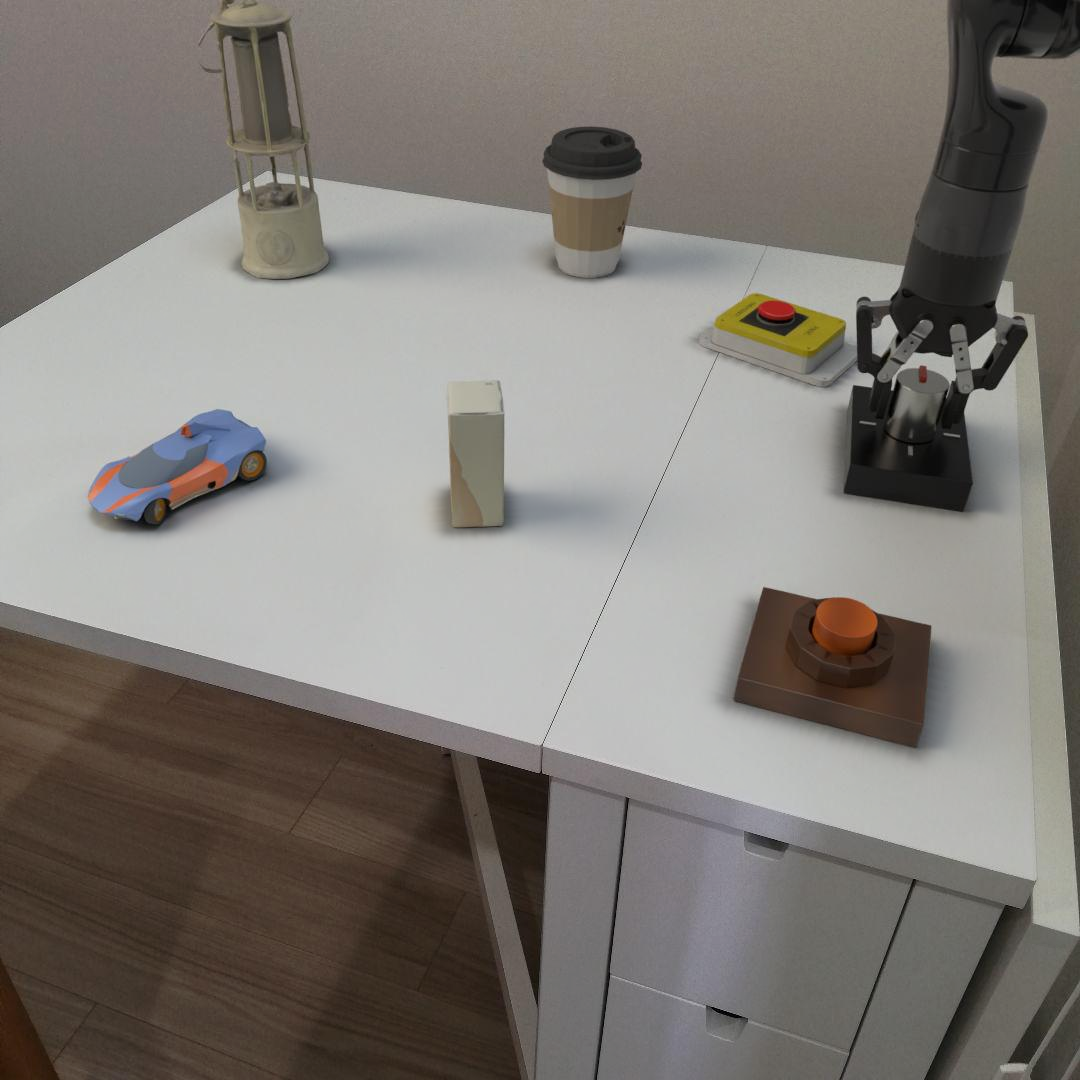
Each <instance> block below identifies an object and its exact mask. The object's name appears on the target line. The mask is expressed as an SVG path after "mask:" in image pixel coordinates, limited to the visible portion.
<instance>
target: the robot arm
mask: <svg viewBox="0 0 1080 1080" xmlns="http://www.w3.org/2000/svg"><path fill="white" fill-rule="evenodd" d="M946 29H947V31H946V32H947V50H948V51H947V52H948V74H947V96H946V108H945V116H944V120H943V125H942V129H941V134H940V137H939V141H938V145H937V148H936V153H935V157H934V161H933V165H932V169H931V171H930V176H929V178H928V181H927V183H926V185H925V189H924V191H923V193H922V197H921V198H920V199H921V200H920V203H919V208H918V210H917V211H916V214H915V217H914V228H913V232H912V236H911V240H910V243H909V247H908V252H907V255H906V259H905V264H904V267H903V272H902V275H901V280H900V284H899V287H898V288H897V290H896V291H895V292H894V294H892V296H891V297H890V299H884V300H871V298H870V297H868V296H860V297H859V298H858V299H857V300H856V308H855V325H856V346H857V361H856V364H857V366H856V368H857V370H858V372H859V373H861V374H869V375H871V376H872V377H873V382H872V386H871V387H872V390H871V394H870V398H869V407H870V411H871V412H875V418H876V419H883V418H884V415H885V411H886V407H887V403H888V399H889V395H890V391H891V390H892V389H893V388H892V387H893V378H894V377H895V375H896V374H897V372H898V371H899V370H900V369H901V367H902V366H903V365H905V364H906V363H907V362H908V361H909V360H910V358H911V357H912V356H913V354H914V353H915V354H921V355H923V354H935V355H938V356H940V357H945V358H952V357H953V363H954V370H955V375H956V376H955V379H954V380H951V382H950V387H949V390H948V393H947V397H946V398H947V399H946V402H945V405H944V409H943V412H942V416H941V424H942V428H945V429H951V427H952V424H953V423H954V424H958V423H959V422H960V421H961V420H962V417H963V413H964V414H965V409H966V407H967V404H968V400H969V398H970V396H971V393H973V392H974V391H977V390H982V389H984V390H985V391H993V390H994V391H995V390H996V389H997V388H998V386H999V384H1000V383H1001V381H1002V380H1003V378H1004V377H1005V375H1006V373H1007V371H1008V370H1009V368H1010V367H1011V365H1012V363H1014V361H1015V359H1016V357H1017V355H1018V354H1019V352H1020V350H1021V349H1022V347H1023V345H1024V344H1025V342H1026V341H1027V339H1028V338H1029V331H1028V326H1027V322H1026V320H1025V317H1023V316H1022V315H1015V316H1012V317H1010V316H1006V315H1004V314H1000V313H998V312H997V311H998V310H997V307H996V306H997V300H998V296H999V294H1000V290H1001V288H1002V284H1003V281H1004V277H1005V274H1006V270H1007V267H1008V265H1009V261H1010V258H1011V255H1012V252H1013V248H1014V245H1015V242H1016V238H1017V235H1018V233H1019V229H1020V226H1021V223H1022V220H1023V215H1024V213H1025V206H1026V199H1027V193H1028V188H1029V184H1030V182H1031V178H1032V175H1033V171H1034V168H1035V166H1036V162H1037V159H1038V155H1039V152H1040V148H1041V146H1042V143H1043V140H1044V136H1045V133H1046V129H1047V125H1048V120H1049V109H1048V107H1047V104H1046V103H1045V102H1044V101H1043V100H1042V99H1041V98H1039V97H1038V96H1036V95H1034V94H1032V93H1029V92H1027V91H1024V90H1022V89H1017V88H1014V87H1010V86H1006V85H1004V84H1000V83H997V82H995V81H994V79H993V74H992V73H993V72H992V70H993V63H994V59H995V58H1000V59H1001V58H1004V59H1025V60H1026V59H1029V60H1050V61H1053V60H1054V61H1056V60H1064V59H1069V58H1072V57H1074V56H1077V55H1079V54H1080V0H947V2H946ZM887 316H890V318H891V320H892V322H893V324H894V326H895V328H896V329H897V331H896V333H895V334H894V336H893V337H892V339H891V341H890V343H889V345H888V346H887V348H886V350H885V351H884V352H883V354H882V355H881V356H879V355H878V354H876V353H873V329H877V328H879V327H881V324H882V323H883V319H884V318H885V317H887ZM992 329H994V330H995V332H994V338H995V342H996V343H995V345H994V346H993V348H992V350H991V351H990V353H989V354H988V356H987V358H986V359H985V361H984V363H983V364H982V366H981V367H978V368H973V369H972V365H971V364H972V363H971V358H970V357H971V356H970V350H969V347H970V346H972V345H973V344H974V343H976V342H977V341H978V340H979V339H980V338H982V337H983V336H985V335H986V334H987V333H988V332H989V331H992Z"/></svg>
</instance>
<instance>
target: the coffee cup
mask: <svg viewBox="0 0 1080 1080" xmlns="http://www.w3.org/2000/svg"><path fill="white" fill-rule="evenodd" d="M635 141H636V140H635V139H634V138H633V136H632V135H630V134H629V133H627V132H625V131H622V130H619V129H615V128H611V127H605V126H592V125H591V126H576V127H569V128H566V129H562V130H559V131H557V132H556V133H555V134H553V136H552V138H551V143H550V144H549V145H547V146H546V147H545V149H544V151H543V159H542V161H541V162H542V165H543V167H544V168H546V171H547V181H548V191H549V202H550V213H551V222H552V232H553V240H554V241H553V243H554V252H555V259H556V262H557V265H558V269H559V270H560V271H562V273H564V274H566V275H569V276H572V277H575V278H581V279H582V278H583V279H593V278H594V279H598V278H602V277H606V276H609V275H611V274H612V273H614V272H615V271H616V268H617V265H618V263H619V260H620V257H621V250H622V246H623V242H624V241H623V240H624V235H625V231H626V225H627V221H628V215H629V211H630V207H631V206H630V205H631V201H632V196H633V191H634V185H635V180H636V175H637V172H639V171H640V170H642V166H643V162H642V156H643V155H642V153H641V152H640V150H639V149H638V148H637V147H636V142H635Z"/></svg>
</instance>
